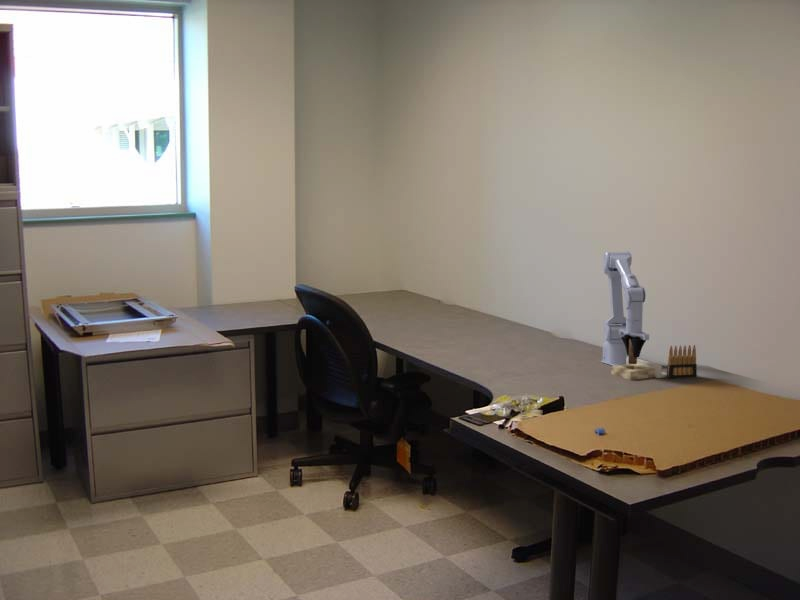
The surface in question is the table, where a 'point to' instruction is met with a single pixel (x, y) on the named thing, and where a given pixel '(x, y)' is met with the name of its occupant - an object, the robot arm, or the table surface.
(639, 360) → the white rectangular slab
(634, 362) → the dowel
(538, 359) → the table surface
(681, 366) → the ammunition clip
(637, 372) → the block
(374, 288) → the table surface
